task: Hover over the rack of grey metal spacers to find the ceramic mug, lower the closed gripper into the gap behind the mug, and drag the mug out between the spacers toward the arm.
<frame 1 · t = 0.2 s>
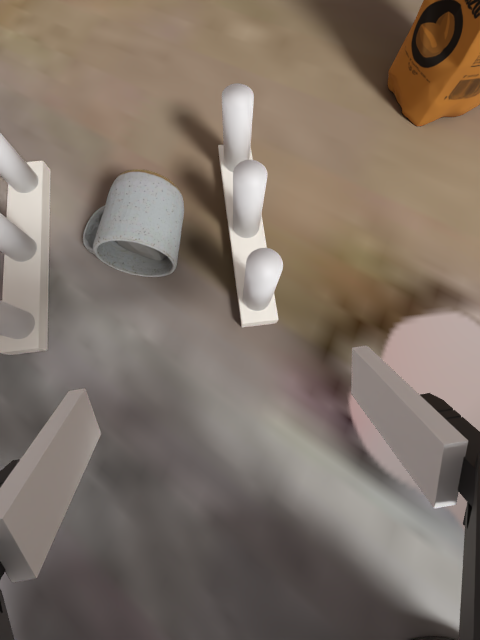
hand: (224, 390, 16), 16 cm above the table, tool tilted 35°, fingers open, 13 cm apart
ceramic mug: (140, 245, 35), on the table
coffee package: (432, 93, 41), on the table
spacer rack: (140, 244, 35), on the table
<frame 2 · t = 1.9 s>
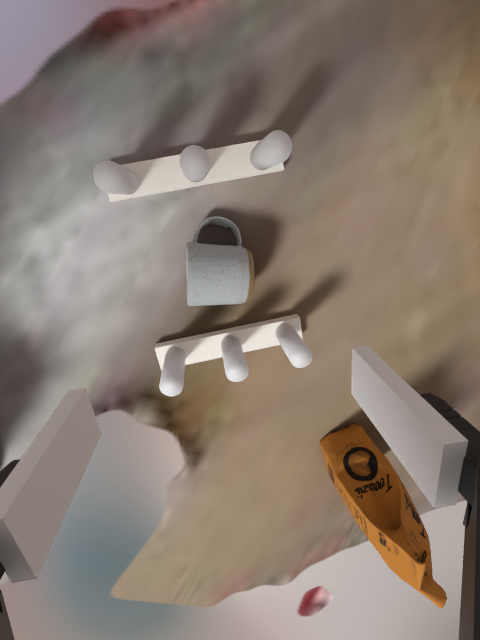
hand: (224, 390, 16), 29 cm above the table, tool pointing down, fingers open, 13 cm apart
ceramic mug: (214, 258, 43), on the table
coffee package: (347, 449, 58), on the table
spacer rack: (214, 263, 43), on the table
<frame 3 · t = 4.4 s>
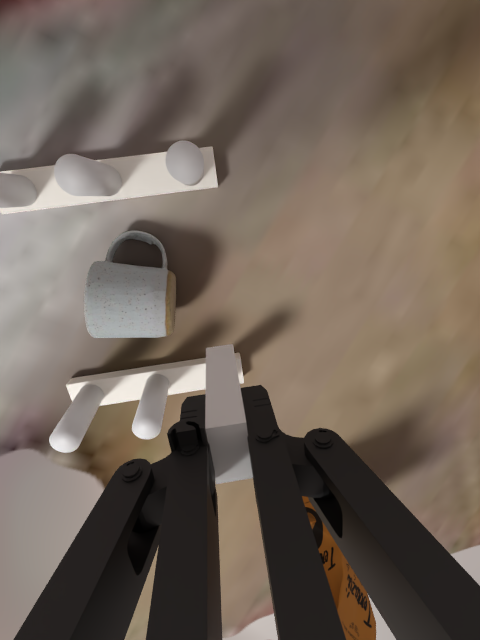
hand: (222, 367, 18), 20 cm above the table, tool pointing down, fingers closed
ceramic mug: (139, 279, 36), on the table
coffee package: (299, 500, 51), on the table
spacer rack: (137, 290, 36), on the table
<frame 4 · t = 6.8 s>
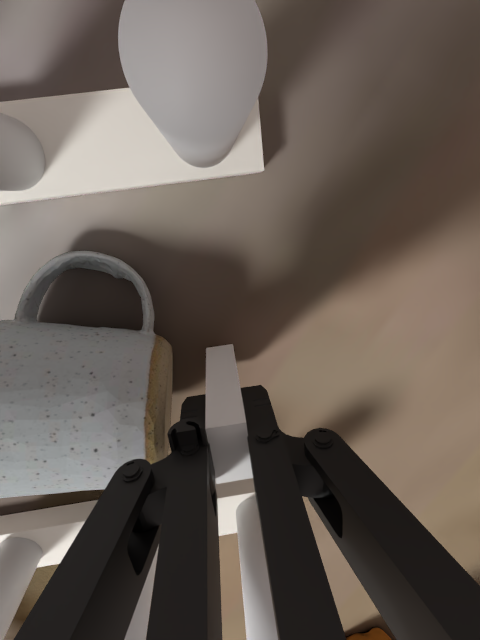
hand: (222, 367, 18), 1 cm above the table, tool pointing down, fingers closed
ceramic mug: (100, 343, 18), on the table, touching gripper
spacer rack: (99, 374, 19), on the table
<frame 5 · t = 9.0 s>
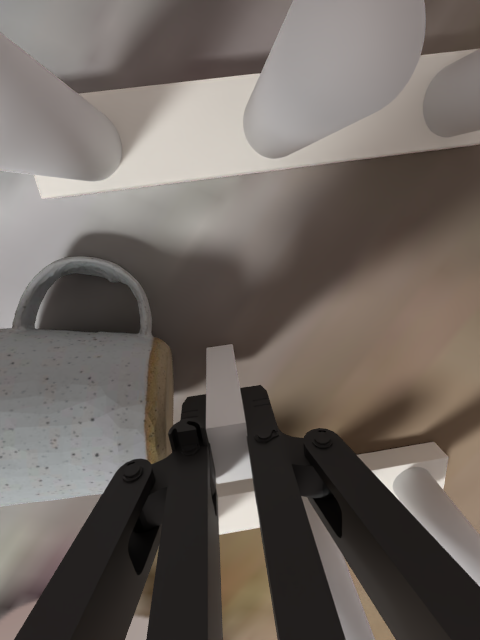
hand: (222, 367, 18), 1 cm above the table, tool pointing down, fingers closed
ceramic mug: (100, 347, 18), on the table, touching gripper
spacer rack: (285, 345, 19), on the table
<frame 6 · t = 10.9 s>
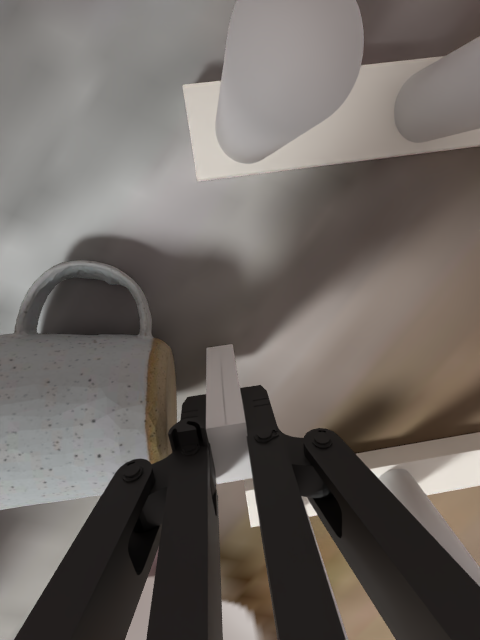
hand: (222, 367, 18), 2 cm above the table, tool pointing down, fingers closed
ceramic mug: (102, 350, 19), on the table, touching gripper
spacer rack: (391, 328, 20), on the table
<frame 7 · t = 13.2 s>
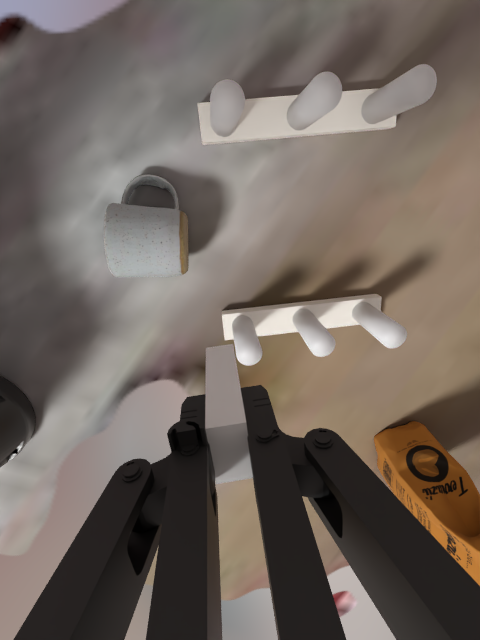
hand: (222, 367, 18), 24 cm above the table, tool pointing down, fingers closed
ceramic mug: (152, 226, 38), on the table
coffee package: (400, 448, 54), on the table
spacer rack: (298, 227, 39), on the table
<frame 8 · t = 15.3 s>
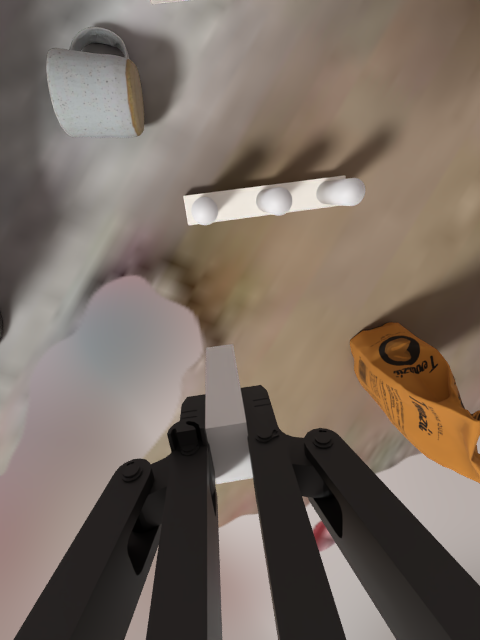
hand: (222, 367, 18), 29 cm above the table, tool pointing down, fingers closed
ceramic mug: (107, 93, 37), on the table
coffee package: (378, 354, 54), on the table
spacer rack: (256, 99, 38), on the table
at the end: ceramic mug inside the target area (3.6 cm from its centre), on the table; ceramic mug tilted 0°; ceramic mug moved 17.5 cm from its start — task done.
